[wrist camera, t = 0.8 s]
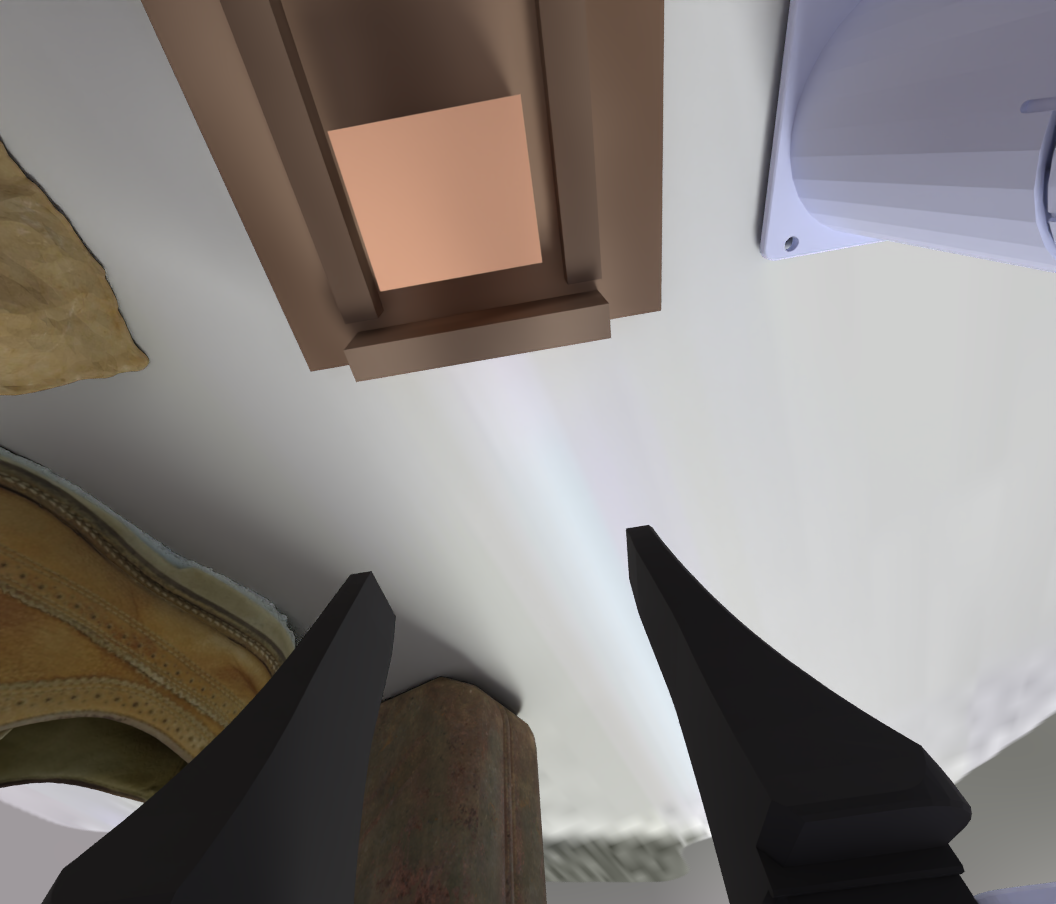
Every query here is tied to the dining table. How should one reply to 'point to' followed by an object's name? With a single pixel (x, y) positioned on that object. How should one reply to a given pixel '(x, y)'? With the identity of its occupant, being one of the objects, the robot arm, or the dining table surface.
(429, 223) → the slider knob
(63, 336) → the rock
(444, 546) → the dining table surface
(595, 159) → the slider track
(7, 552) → the oxford shoe
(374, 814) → the container
